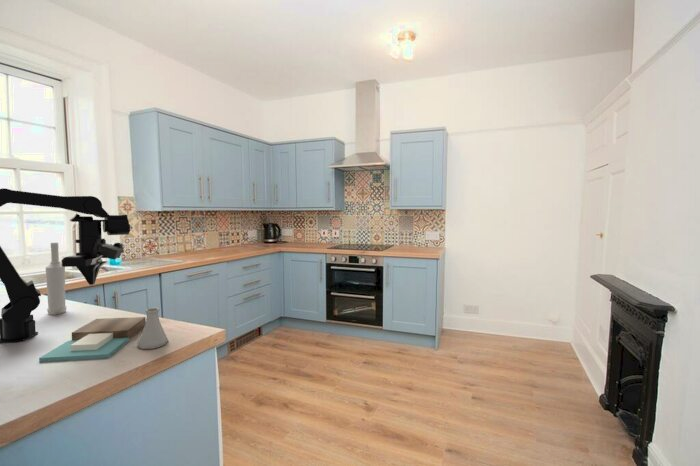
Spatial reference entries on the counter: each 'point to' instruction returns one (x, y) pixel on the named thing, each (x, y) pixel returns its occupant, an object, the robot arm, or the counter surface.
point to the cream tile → (91, 341)
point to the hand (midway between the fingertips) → (91, 284)
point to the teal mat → (84, 351)
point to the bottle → (55, 283)
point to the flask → (152, 331)
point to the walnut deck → (111, 327)
